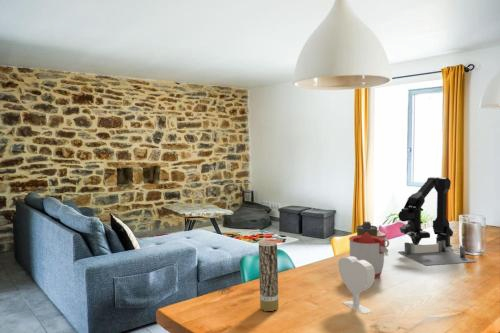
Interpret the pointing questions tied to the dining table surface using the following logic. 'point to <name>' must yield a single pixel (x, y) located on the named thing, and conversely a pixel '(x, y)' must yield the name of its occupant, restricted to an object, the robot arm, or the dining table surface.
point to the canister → (367, 229)
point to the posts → (462, 251)
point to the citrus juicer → (369, 250)
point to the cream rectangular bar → (426, 248)
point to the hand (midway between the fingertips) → (415, 247)
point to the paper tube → (268, 275)
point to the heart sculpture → (356, 279)
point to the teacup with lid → (382, 235)
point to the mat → (437, 258)
